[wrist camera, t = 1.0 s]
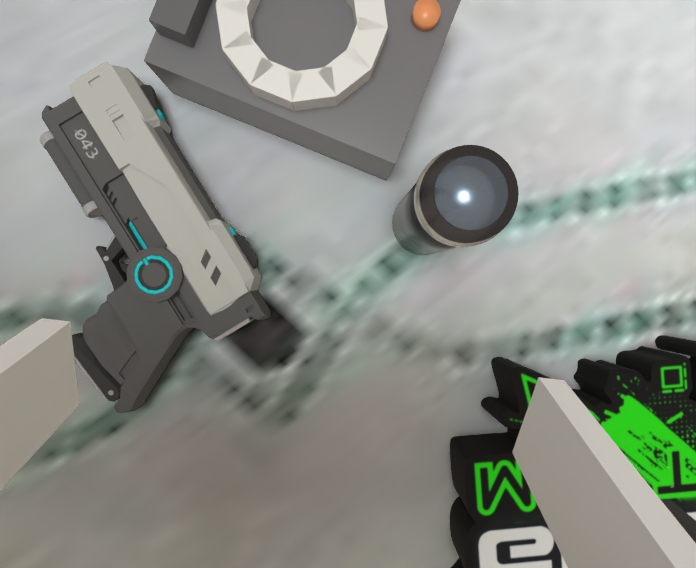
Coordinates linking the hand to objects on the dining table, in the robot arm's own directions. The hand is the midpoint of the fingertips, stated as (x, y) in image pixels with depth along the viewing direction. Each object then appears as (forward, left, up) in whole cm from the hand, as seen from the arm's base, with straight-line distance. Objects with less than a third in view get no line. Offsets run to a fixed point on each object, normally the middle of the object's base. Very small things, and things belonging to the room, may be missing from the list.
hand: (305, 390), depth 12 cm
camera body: (-9, +18, -22) cm, 29 cm away
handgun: (-16, 0, -23) cm, 28 cm away
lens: (+4, +10, -22) cm, 24 cm away
